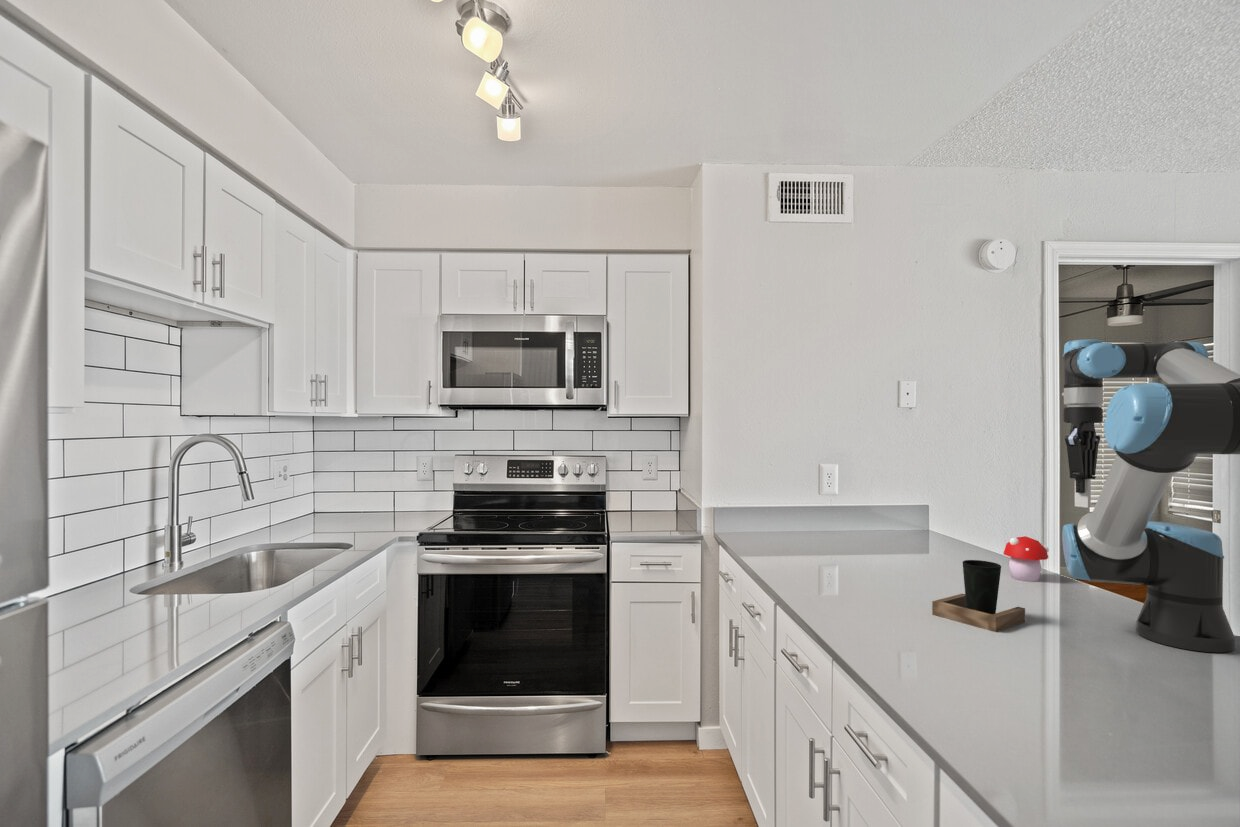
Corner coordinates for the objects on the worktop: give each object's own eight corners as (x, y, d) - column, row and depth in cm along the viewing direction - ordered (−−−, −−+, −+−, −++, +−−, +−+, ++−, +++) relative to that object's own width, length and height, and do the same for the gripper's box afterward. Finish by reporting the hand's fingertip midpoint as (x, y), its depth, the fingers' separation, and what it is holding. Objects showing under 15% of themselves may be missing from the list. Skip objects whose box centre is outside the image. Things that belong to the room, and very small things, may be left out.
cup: (1005, 623, 141) (1006, 568, 141) (967, 620, 143) (968, 566, 143) (993, 613, 149) (994, 561, 149) (957, 610, 150) (958, 558, 150)
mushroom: (1035, 574, 186) (1035, 533, 186) (1057, 584, 175) (1057, 540, 175) (996, 573, 187) (996, 532, 187) (1016, 583, 176) (1016, 539, 176)
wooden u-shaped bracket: (1025, 621, 142) (1025, 608, 142) (995, 631, 135) (995, 617, 135) (962, 606, 154) (962, 593, 154) (932, 614, 147) (932, 601, 147)
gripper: (1077, 406, 158) (1076, 503, 158) (1052, 405, 151) (1051, 506, 150) (1113, 406, 151) (1113, 506, 151) (1089, 405, 144) (1088, 510, 144)
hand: (1082, 506), depth 151 cm, fingers closed
